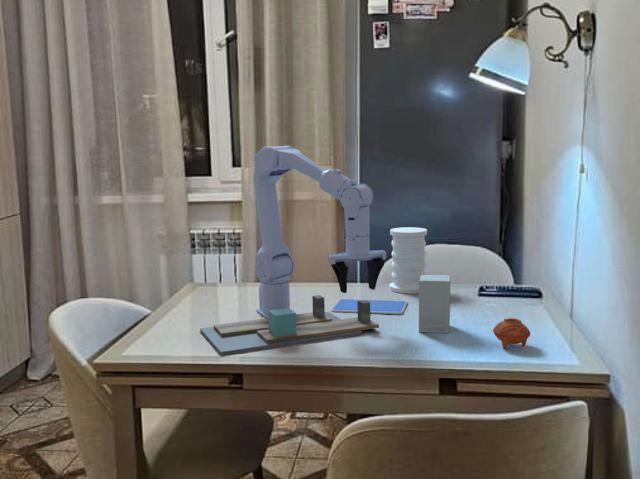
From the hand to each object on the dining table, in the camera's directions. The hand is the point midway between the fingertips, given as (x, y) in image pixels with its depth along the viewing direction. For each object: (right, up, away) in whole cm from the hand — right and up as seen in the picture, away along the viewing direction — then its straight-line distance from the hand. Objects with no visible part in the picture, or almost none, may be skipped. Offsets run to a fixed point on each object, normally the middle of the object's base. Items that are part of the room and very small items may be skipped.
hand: (357, 290), depth 170 cm
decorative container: (+17, -3, +41) cm, 44 cm away
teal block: (-18, -9, -7) cm, 21 cm away
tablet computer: (+4, -7, +20) cm, 22 cm away
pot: (+33, -11, -15) cm, 38 cm away
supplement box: (+18, -9, -1) cm, 21 cm away
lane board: (-19, -10, -2) cm, 21 cm away
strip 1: (-21, -10, +2) cm, 23 cm away
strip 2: (-10, -10, -3) cm, 14 cm away
